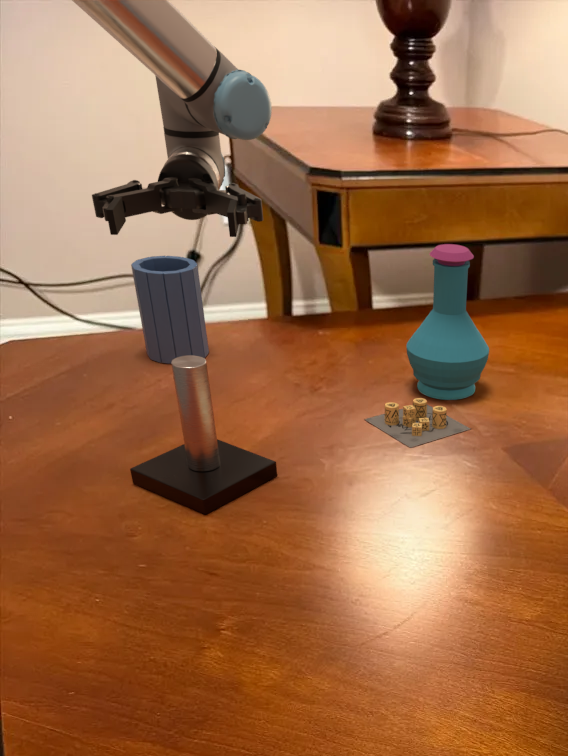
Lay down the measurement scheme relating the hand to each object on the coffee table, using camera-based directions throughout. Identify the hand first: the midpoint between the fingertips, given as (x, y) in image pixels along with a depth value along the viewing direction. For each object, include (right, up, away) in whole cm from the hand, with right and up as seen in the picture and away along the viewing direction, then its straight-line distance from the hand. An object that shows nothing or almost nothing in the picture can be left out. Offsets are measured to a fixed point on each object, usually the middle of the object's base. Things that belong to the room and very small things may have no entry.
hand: (172, 223), depth 102 cm
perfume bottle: (+32, -21, -3) cm, 39 cm away
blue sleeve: (+1, -15, 0) cm, 15 cm away
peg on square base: (+11, -35, -23) cm, 43 cm away
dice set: (+30, -27, -11) cm, 42 cm away
